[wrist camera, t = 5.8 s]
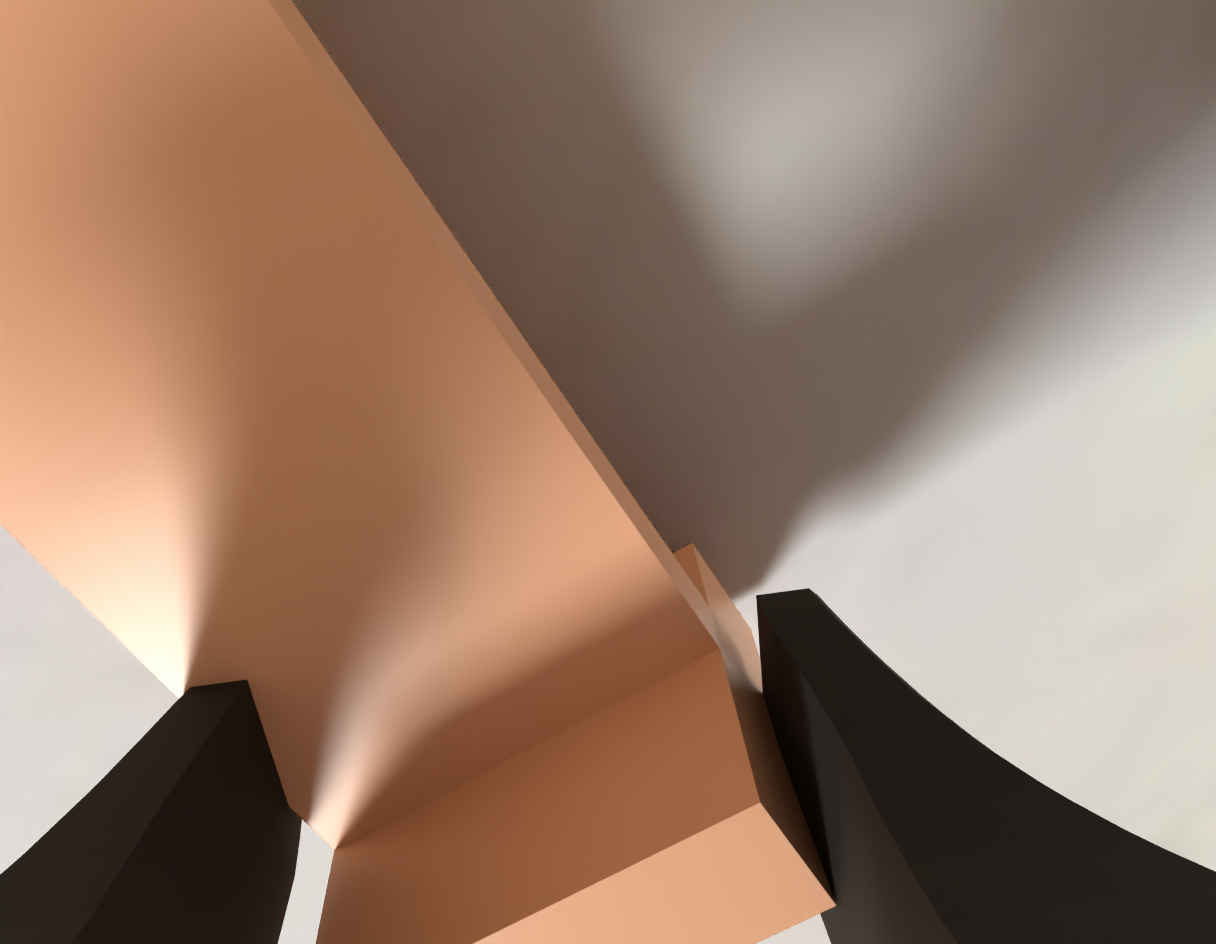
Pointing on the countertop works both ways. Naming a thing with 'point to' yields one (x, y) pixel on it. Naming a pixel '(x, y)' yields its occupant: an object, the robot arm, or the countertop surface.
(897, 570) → the countertop surface
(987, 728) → the countertop surface
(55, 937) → the robot arm
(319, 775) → the peach l-shaped bracket
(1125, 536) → the countertop surface
